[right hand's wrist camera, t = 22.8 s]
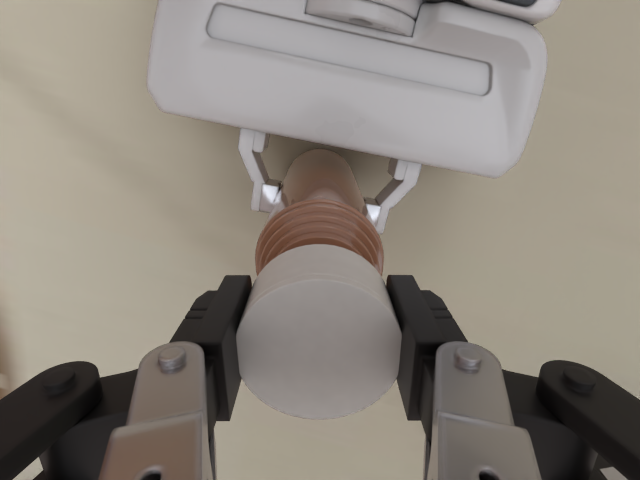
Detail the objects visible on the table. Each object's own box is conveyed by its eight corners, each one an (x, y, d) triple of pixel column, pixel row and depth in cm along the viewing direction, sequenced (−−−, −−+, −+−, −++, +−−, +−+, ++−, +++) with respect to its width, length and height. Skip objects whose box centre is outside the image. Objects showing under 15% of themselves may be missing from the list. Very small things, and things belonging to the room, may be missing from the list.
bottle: (316, 133, 28) (309, 212, 9) (367, 179, 29) (454, 333, 10) (272, 186, 29) (186, 347, 10) (322, 228, 30) (326, 440, 12)
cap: (347, 382, 13) (352, 440, 11) (228, 333, 12) (208, 385, 10) (415, 280, 12) (437, 323, 9) (285, 218, 11) (277, 249, 9)
